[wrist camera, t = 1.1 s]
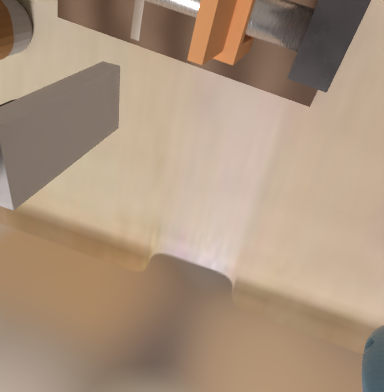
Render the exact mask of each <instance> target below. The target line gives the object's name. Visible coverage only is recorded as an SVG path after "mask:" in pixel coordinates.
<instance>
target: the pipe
mask: <svg viewBox="0 0 384 392" xmlns="http://www.w3.org/2000/svg"><path fill="white" fill-rule="evenodd" d="M144 1H147V2H150V3H153V4H156V5H159V6H162V7H165V8H168V9H171V10H174V11H177V12H180V13H183V14H186V15H189V16H192V17H195V18H197V13H198V9H199V4H200V0H144ZM370 2H371V0H318V3H317V5H316V8H315V9H314V8H311V7H307V6H304V5H301V4H298V3H295V2H292V1H288V0H256V1H255V4H254V7H253V10H252V14H251V17H250V20H249V23H248V27H247V30H246V33H245V35H248V36H251V37H254V38H257V39H260V40H263V41H266V42H269V43H272V44H275V45H278V46H281V47H284V48H287V49H290V50H293V51H296V52H297V55H296V57H295V60H294V62H293V65H292V67H291V70H290V72H289V75H288V77H287V79H289V80H292V81H295V82H298V83H301V84H304V85H306V86H309V87H312V88H315V89H318V90H321V91H324V92H327V91H328V89H329V87H330V84H331V82H332V80H333V78H334V76H335V74H336V72H337V70H338V68H339V66H340V64H341V62H342V60H343V58H344V55H345V53H346V51H347V49H348V47H349V45H350V43H351V41H352V39H353V37H354V35H355V33H356V31H357V29H358V26H359V24H360V22H361V20H362V18H363V16H364V14H365V12H366V10H367V8H368V6H369V4H370Z"/></svg>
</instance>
